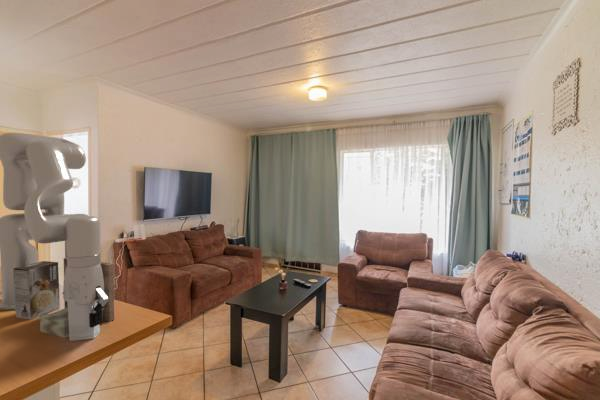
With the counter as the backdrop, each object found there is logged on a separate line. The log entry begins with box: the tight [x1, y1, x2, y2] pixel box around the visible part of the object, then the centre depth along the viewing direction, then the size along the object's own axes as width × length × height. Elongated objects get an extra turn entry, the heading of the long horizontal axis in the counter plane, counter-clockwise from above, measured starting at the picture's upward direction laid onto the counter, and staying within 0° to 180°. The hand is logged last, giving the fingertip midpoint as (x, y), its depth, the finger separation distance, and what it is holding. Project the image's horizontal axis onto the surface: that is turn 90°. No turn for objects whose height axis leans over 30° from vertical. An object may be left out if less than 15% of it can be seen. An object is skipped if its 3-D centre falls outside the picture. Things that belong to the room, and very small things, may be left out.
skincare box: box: [67, 298, 101, 342], centre depth 80 cm, size 6×4×12 cm
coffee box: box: [13, 260, 61, 321], centre depth 94 cm, size 9×6×16 cm
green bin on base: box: [39, 257, 115, 338], centre depth 88 cm, size 20×12×18 cm, turn 72°
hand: (85, 322), depth 81 cm, fingers closed on skincare box, 7 cm apart
